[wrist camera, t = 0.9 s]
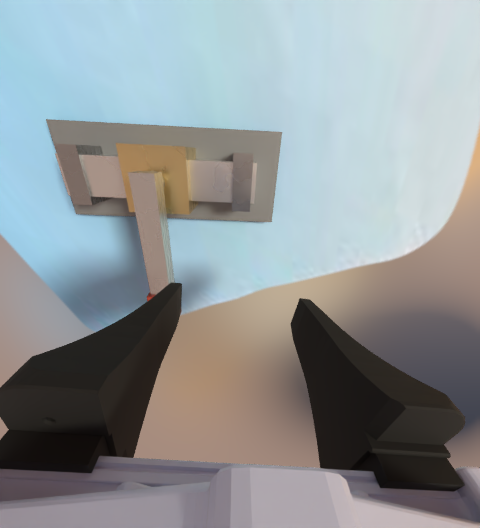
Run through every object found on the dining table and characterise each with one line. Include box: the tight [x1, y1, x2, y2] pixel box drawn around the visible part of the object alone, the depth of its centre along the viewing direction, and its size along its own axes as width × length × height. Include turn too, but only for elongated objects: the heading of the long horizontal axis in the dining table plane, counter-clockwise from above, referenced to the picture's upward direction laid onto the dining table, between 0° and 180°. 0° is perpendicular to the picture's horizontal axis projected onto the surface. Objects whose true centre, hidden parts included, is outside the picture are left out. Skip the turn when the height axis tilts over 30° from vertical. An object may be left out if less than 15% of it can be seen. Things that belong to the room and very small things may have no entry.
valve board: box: [46, 119, 282, 222], centre depth 18 cm, size 18×7×1 cm, turn 87°
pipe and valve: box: [54, 143, 257, 215], centre depth 16 cm, size 14×4×4 cm, turn 87°
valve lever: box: [128, 171, 182, 314], centre depth 16 cm, size 12×2×2 cm, turn 177°
